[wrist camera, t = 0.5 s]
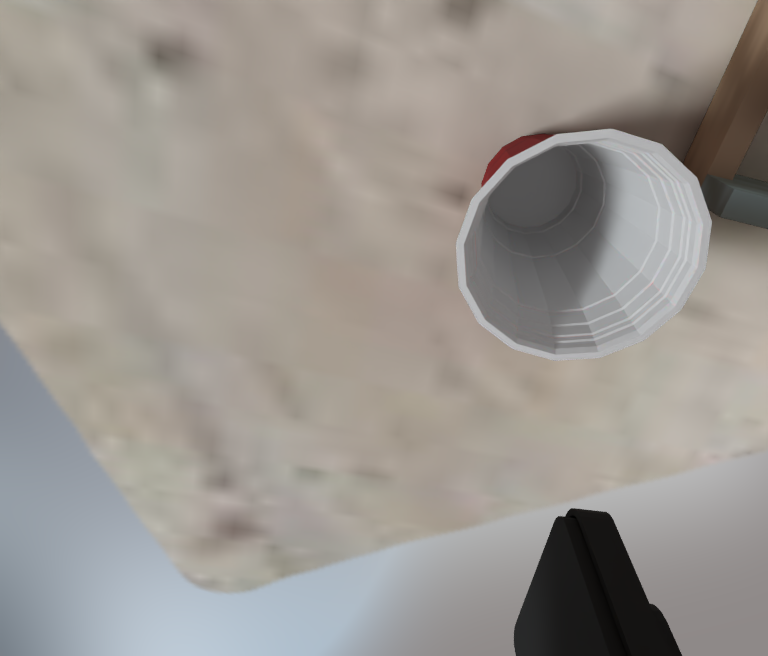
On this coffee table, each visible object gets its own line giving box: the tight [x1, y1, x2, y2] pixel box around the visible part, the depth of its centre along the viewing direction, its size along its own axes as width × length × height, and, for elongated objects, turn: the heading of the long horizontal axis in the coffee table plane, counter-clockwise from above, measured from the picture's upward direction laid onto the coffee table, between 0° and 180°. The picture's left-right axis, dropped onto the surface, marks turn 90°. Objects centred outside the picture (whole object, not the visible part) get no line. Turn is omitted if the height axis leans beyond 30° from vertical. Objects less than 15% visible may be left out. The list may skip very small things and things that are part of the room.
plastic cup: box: [456, 129, 712, 361], centre depth 32 cm, size 11×11×12 cm
